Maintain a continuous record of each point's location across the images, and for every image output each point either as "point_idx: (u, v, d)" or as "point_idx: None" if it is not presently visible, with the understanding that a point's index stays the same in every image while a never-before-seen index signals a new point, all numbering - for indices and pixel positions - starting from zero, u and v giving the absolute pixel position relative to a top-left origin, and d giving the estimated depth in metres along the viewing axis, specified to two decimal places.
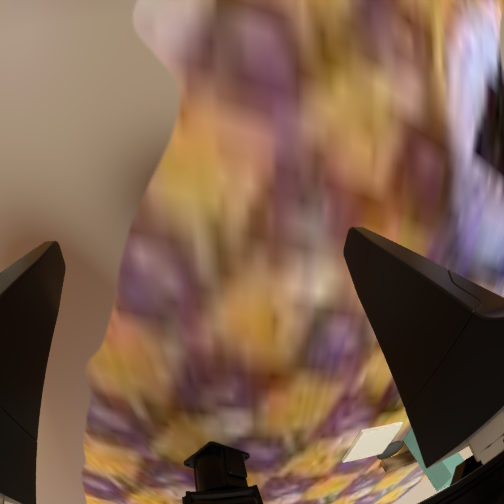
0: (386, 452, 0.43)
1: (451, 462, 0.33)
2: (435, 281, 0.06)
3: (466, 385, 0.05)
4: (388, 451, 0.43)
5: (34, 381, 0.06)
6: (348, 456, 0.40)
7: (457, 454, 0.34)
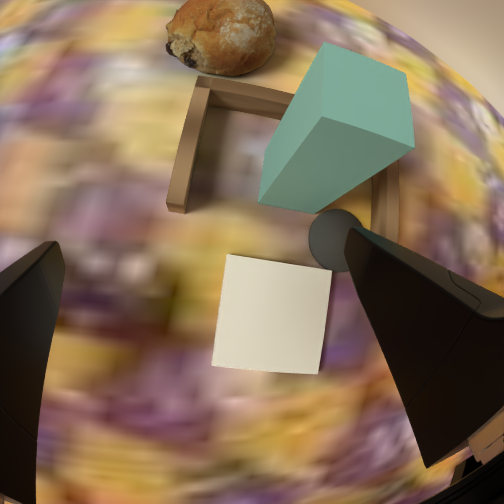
0: (339, 251, 0.24)
1: (304, 114, 0.14)
2: (435, 281, 0.06)
3: (466, 385, 0.05)
4: (337, 246, 0.24)
5: (34, 381, 0.06)
6: (297, 369, 0.22)
7: (301, 87, 0.15)
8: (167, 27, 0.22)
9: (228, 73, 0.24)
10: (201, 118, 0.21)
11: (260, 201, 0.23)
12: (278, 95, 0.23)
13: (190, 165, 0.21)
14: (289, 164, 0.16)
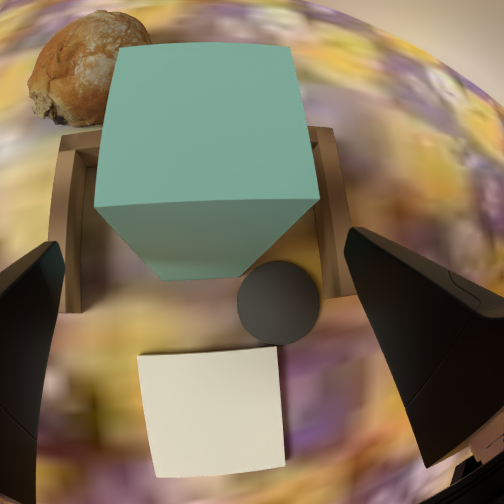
0: (282, 318, 0.19)
1: None
2: (435, 281, 0.06)
3: (466, 385, 0.05)
4: (279, 311, 0.19)
5: (34, 381, 0.06)
6: (258, 466, 0.16)
7: None
8: (28, 85, 0.16)
9: (100, 120, 0.18)
10: (68, 192, 0.16)
11: (163, 279, 0.18)
12: None
13: (64, 259, 0.15)
14: (144, 256, 0.11)
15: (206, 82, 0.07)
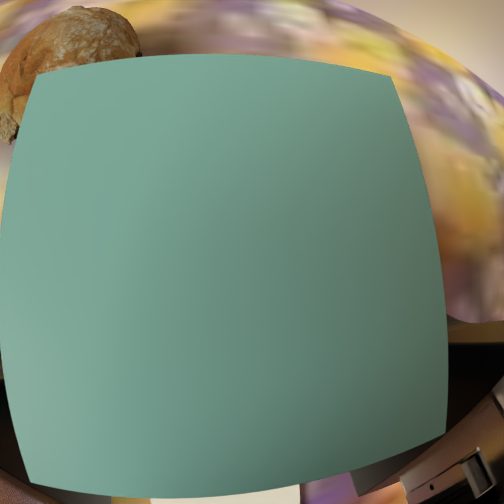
0: None
1: None
2: None
3: None
4: None
5: None
6: None
7: None
8: None
9: None
10: None
11: None
12: None
13: None
14: None
15: (229, 169, 0.03)
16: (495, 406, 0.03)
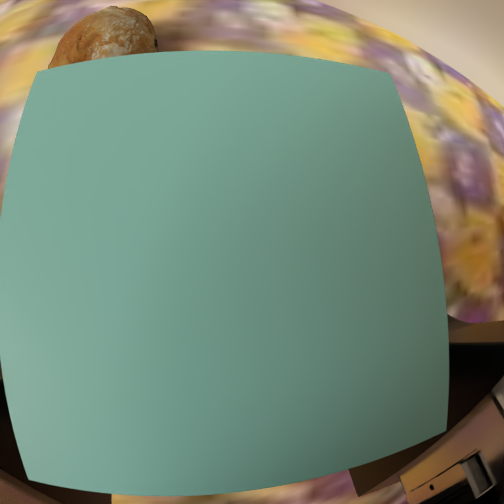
0: None
1: None
2: None
3: None
4: None
5: None
6: None
7: None
8: None
9: None
10: None
11: None
12: None
13: None
14: None
15: (228, 164, 0.03)
16: (495, 406, 0.03)
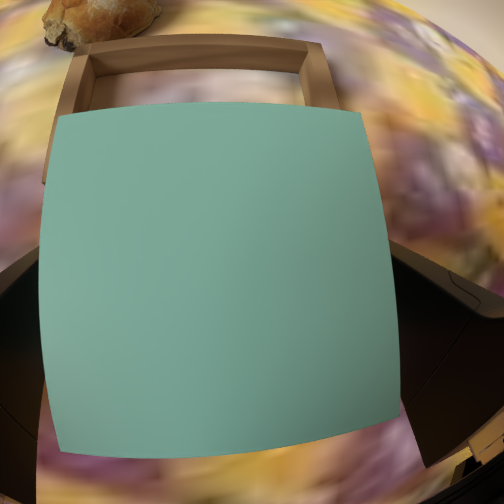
0: None
1: None
2: (435, 281, 0.06)
3: (466, 385, 0.05)
4: None
5: (34, 381, 0.06)
6: None
7: None
8: (42, 19, 0.16)
9: None
10: (78, 84, 0.15)
11: None
12: (166, 38, 0.17)
13: None
14: None
15: (219, 205, 0.04)
16: None
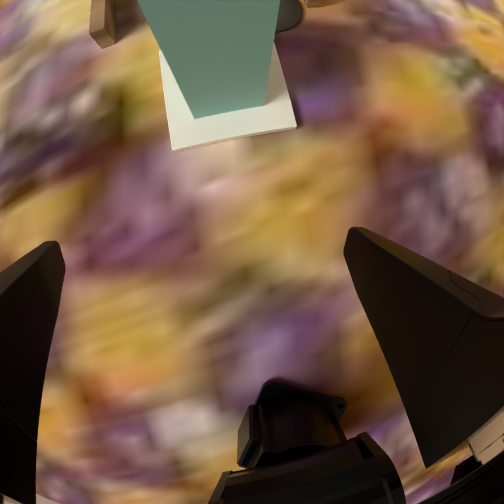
0: None
1: None
2: (435, 281, 0.06)
3: (466, 385, 0.05)
4: None
5: (34, 381, 0.06)
6: (269, 125, 0.19)
7: None
8: None
9: None
10: None
11: (194, 116, 0.18)
12: None
13: (104, 3, 0.16)
14: (171, 59, 0.11)
15: None
16: None
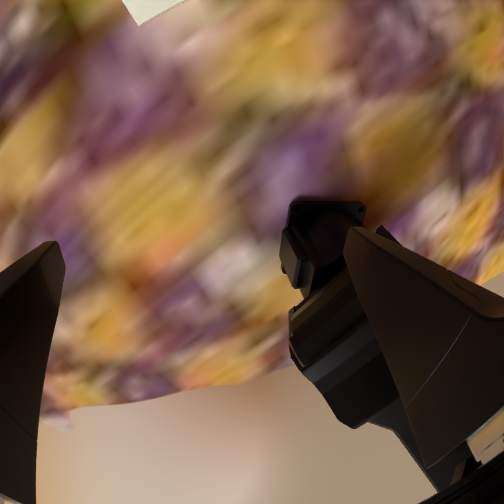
0: None
1: None
2: (435, 281, 0.06)
3: (466, 385, 0.05)
4: None
5: (34, 381, 0.06)
6: None
7: None
8: None
9: None
10: None
11: None
12: None
13: None
14: None
15: None
16: None
